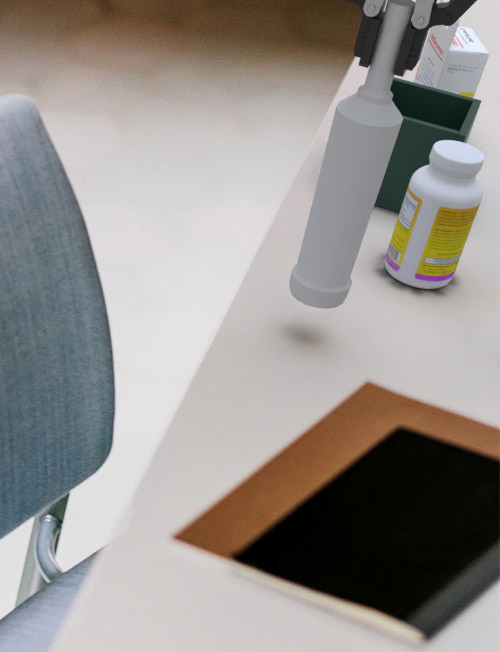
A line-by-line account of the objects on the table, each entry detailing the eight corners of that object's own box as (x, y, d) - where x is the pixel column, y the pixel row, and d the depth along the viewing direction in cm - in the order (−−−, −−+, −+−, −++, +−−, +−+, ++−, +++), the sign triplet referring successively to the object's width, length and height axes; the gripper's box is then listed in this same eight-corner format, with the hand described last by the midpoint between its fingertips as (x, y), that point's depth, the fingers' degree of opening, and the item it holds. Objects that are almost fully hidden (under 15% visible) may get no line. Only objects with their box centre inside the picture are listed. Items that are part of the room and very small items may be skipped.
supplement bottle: (462, 276, 116) (509, 155, 108) (430, 299, 112) (476, 175, 104) (402, 248, 119) (443, 128, 111) (369, 269, 115) (409, 147, 107)
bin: (451, 184, 132) (481, 100, 126) (435, 223, 124) (466, 135, 118) (358, 157, 135) (383, 74, 128) (337, 194, 127) (362, 107, 121)
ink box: (457, 152, 139) (502, 27, 129) (415, 148, 138) (457, 21, 129) (440, 121, 145) (481, -1, 136) (400, 116, 145) (438, -6, 136)
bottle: (299, 311, 100) (384, 13, 84) (278, 278, 104) (355, -13, 88) (356, 309, 101) (450, 16, 85) (333, 277, 105) (418, -10, 89)
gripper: (567, -175, 80) (481, 75, 91) (366, -215, 83) (306, 31, 94) (556, -155, 74) (466, 109, 85) (341, -198, 78) (281, 60, 89)
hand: (382, 67), depth 90 cm, fingers closed on bottle, 2 cm apart
